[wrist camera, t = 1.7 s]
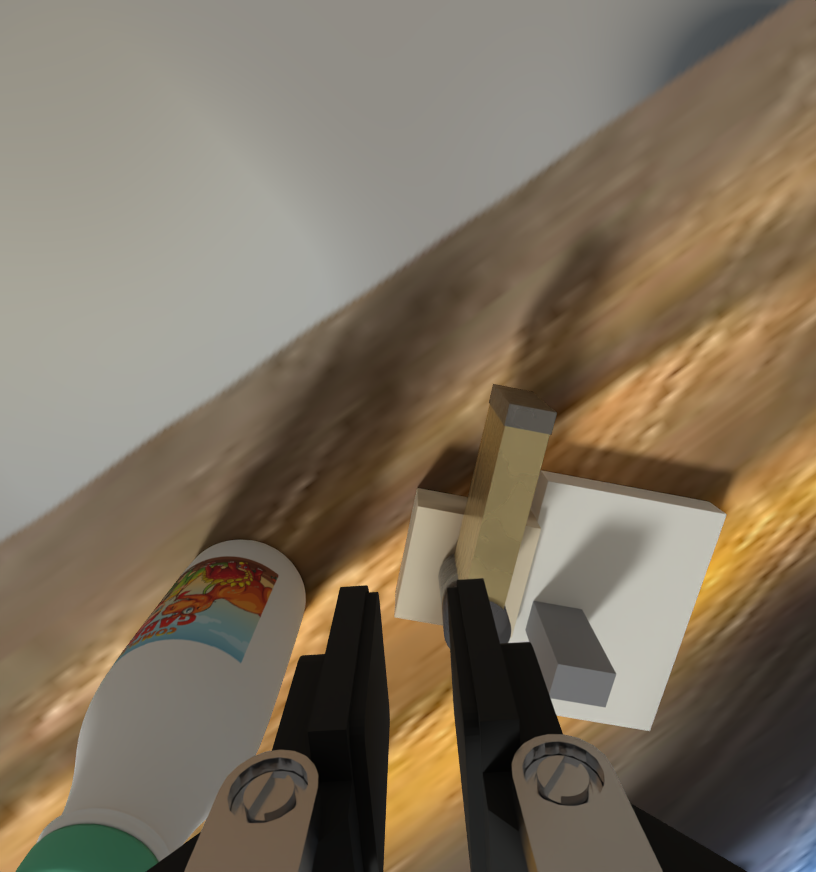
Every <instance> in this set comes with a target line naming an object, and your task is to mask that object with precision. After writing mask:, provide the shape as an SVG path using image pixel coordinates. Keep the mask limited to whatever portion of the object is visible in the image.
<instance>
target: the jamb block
mask: <svg viewBox="0 0 816 872" xmlns="http://www.w3.org/2000/svg"><path fill="white" fill-rule="evenodd" d="M467 499H468V497H464V496H458V495H453V494H448V493H442V492H437V491H431V490H426V489H420V488H417V491H416V496H415V501H414V506H413V510H412V515H411V520H410V525H409V529H408V534H407V539H406V544H405V549H404V553H403V558H402V563H401V568H400V572H399V577H398V582H397V587H396V594H395V617H397V618H402V619H408V620H414V621H420V622H425V623H431V624H437V625H443V619H442V609H441V599H440V589H439V579H438V575H439V570H440V567H441V565H442V564H443V562H444V561H445V560H446V559H447V558H448V557H449V556H451V555H452V554H454V553H455V550H456V546H457V542H458V537H459V533H460V529H461V525H462V520H463V516H464V512H465V507H466V503H467ZM540 531H541V528H540V526H539V524H538V522H537V520H536V518H535V516H534V514H533V513H532V511H531V509H530V511H529V515H528V519H527V523H526V527H525V530H524V534H523V538H522V542H521V545H520V549H519V553H518V557H517V561H516V564H515V568H514V572H513V576H512V580H511V583H510V587H509V591H508V595H507V599H506V602H505V607H506V610H507V614H508V617H509V620H510V624H511V637H512V635H513V631H514V627H515V624H516V620H517V616H518V613H519V609H520V605H521V601H522V598H523V594H524V590H525V587H526V583H527V579H528V576H529V572H530V568H531V565H532V561H533V557H534V554H535V550H536V546H537V542H538V539H539V535H540Z"/></svg>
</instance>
